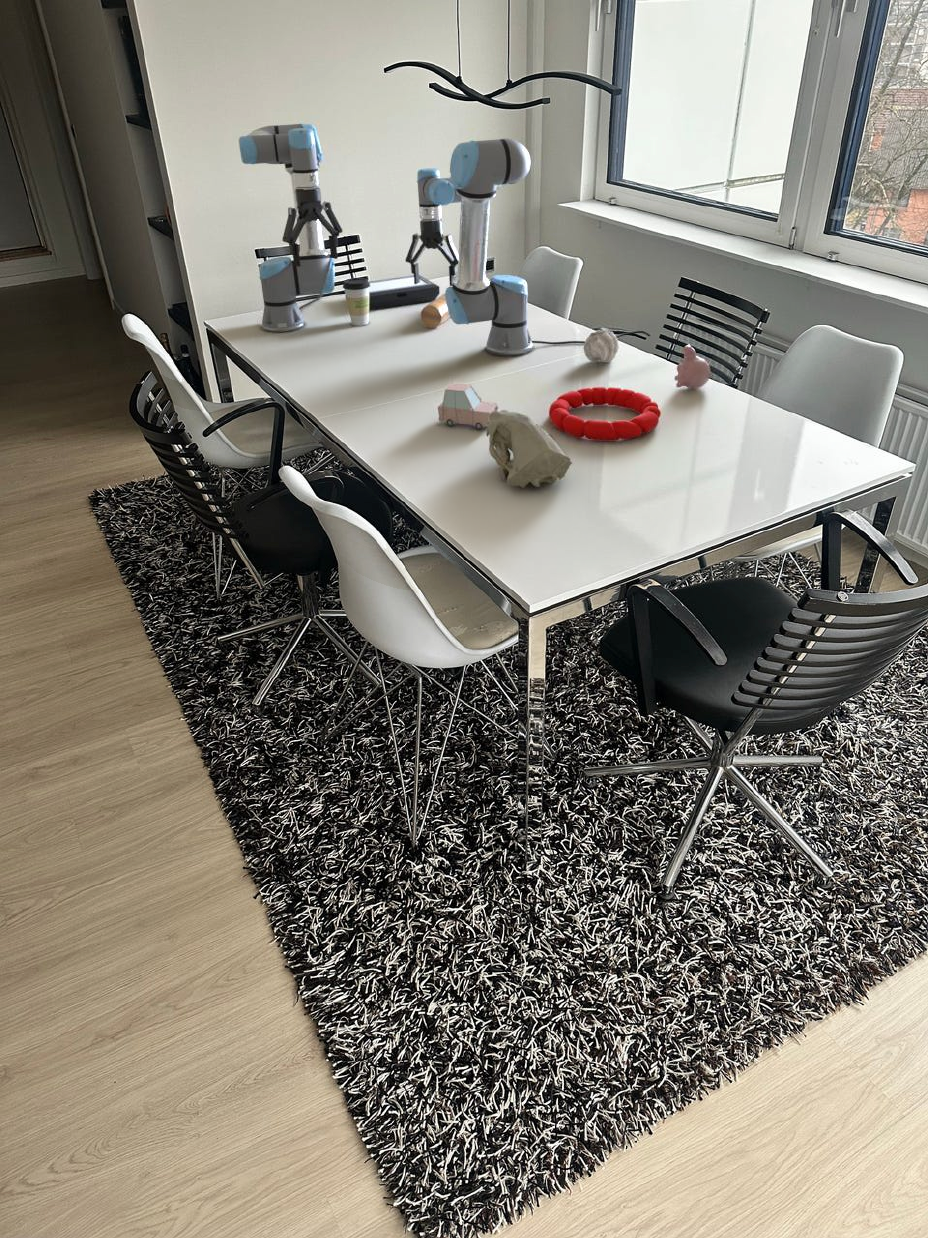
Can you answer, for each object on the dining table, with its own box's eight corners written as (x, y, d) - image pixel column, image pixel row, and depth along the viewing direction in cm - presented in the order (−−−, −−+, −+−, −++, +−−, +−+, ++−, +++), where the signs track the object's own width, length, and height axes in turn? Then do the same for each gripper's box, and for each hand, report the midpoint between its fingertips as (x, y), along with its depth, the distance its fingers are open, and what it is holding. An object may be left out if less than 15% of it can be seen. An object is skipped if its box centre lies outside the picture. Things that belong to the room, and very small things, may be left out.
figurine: (665, 387, 264) (669, 347, 257) (693, 380, 268) (698, 340, 261) (686, 396, 257) (690, 355, 250) (714, 388, 262) (720, 348, 255)
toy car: (488, 432, 240) (488, 396, 234) (436, 426, 244) (434, 390, 239) (499, 419, 247) (499, 384, 241) (448, 413, 252) (447, 379, 246)
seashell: (573, 361, 285) (574, 329, 280) (611, 352, 291) (613, 322, 285) (592, 370, 278) (593, 338, 272) (630, 361, 284) (632, 330, 278)
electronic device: (361, 295, 335) (344, 283, 350) (362, 312, 338) (346, 299, 353) (439, 284, 345) (420, 273, 360) (439, 300, 349) (421, 289, 364)
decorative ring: (589, 435, 224) (684, 402, 234) (527, 398, 247) (617, 369, 256) (589, 461, 229) (683, 427, 238) (529, 422, 251) (617, 393, 260)
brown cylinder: (450, 306, 343) (449, 284, 338) (469, 307, 340) (469, 286, 336) (421, 326, 321) (420, 304, 317) (441, 328, 319) (440, 306, 314)
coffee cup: (372, 326, 323) (368, 283, 314) (345, 327, 323) (340, 284, 315) (374, 318, 331) (371, 276, 322) (348, 319, 331) (344, 277, 323)
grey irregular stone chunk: (496, 517, 219) (521, 479, 201) (463, 429, 225) (484, 384, 207) (557, 503, 225) (586, 465, 206) (523, 417, 231) (549, 373, 212)
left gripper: (277, 194, 258) (287, 270, 270) (349, 183, 270) (355, 256, 282) (264, 191, 262) (275, 266, 274) (335, 180, 275) (342, 253, 287)
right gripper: (393, 220, 304) (398, 284, 316) (460, 221, 296) (463, 288, 308) (402, 216, 310) (406, 280, 322) (468, 218, 302) (471, 283, 314)
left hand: (316, 261), depth 278 cm, fingers open, 13 cm apart
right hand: (434, 284), depth 315 cm, fingers open, 13 cm apart
